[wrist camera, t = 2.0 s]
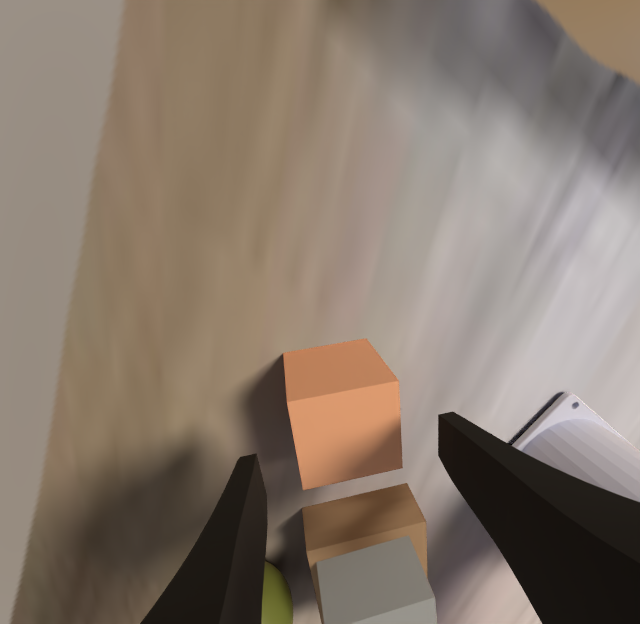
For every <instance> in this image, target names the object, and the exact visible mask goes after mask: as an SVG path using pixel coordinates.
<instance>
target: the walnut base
mask: <svg viewBox="0 0 640 624" xmlns="http://www.w3.org/2000/svg"><path fill="white" fill-rule="evenodd" d="M302 513H303V523H304V533H305V543H306V552H307V557H308V562H309V566H310V571H311V576H312V580H313V585H314V589H315V594H316V599H317V603H318V608H319V613H320V617H321V622H322V624H324V618H323V610H322V602H321V594H320V587H319V579H318V571H317V563H316V562H319V561H322V560H326V559H329V558H332V557H336V556H339V555H343V554H346V553H350V552H353V551H356V550H360V549H363V548H367V547H370V546H374V545H377V544H380V543H384V542H387V541H391V540H394V539H398V538H401V537H404V536H408V535H409V537H410V539H411V542H412V544H413V546H414V549H415V551H416V553H417V556H418V558H419V560H420V563H421V565H422V568H423V570H424V572H425V575H426V577H427V537H426V520H425V518H424V516H423V514H422V512H421V510H420V508H419V506H418V504H417V502H416V500H415V498H414V496H413V494H412V492H411V490H410V488H409V486H408V484H407V483H405V484H401V485H397V486H392V487H388V488H384V489H380V490H375V491H371V492H367V493H363V494H359V495H354V496H350V497H346V498H342V499H338V500H333V501H329V502H325V503H321V504H316V505H312V506H308V507H304V508H302ZM427 579H428V577H427Z"/></svg>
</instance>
